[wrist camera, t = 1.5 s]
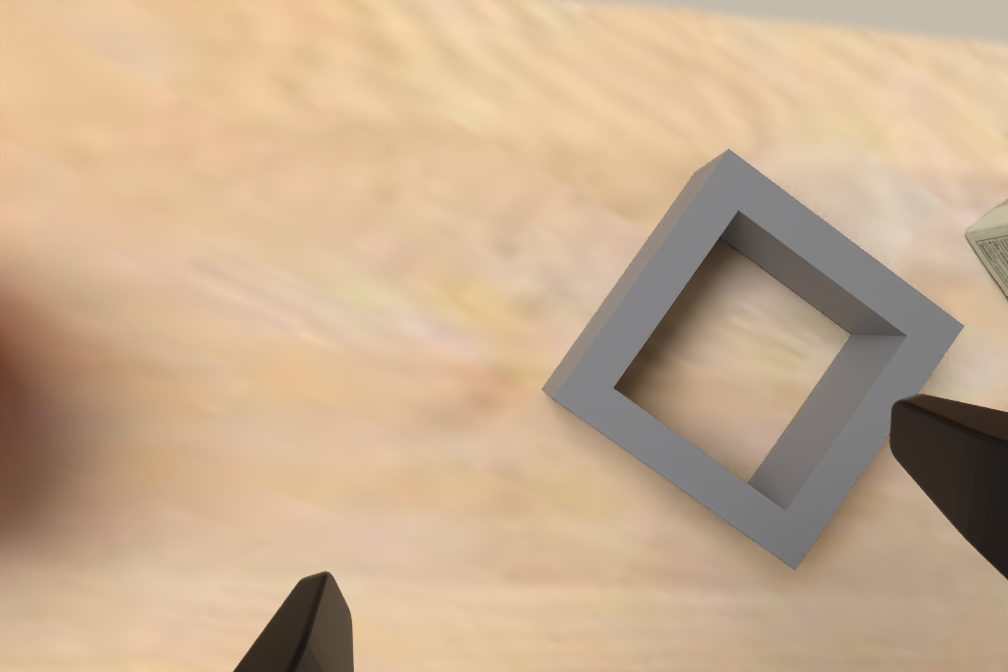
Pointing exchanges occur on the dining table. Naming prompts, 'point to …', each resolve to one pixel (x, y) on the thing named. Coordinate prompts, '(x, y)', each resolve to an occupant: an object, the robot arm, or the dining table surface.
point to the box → (993, 243)
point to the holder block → (834, 401)
